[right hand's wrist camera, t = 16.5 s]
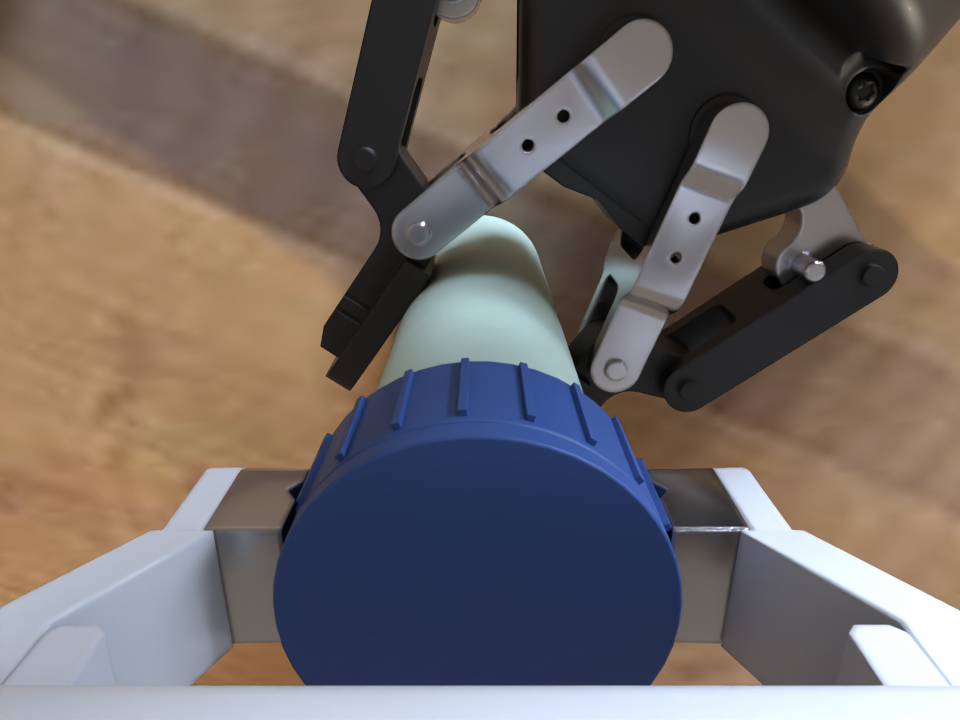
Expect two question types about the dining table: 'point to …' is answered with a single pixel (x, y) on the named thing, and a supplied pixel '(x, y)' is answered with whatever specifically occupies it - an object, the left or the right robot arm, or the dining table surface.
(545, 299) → the jar
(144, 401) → the dining table surface
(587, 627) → the lid
